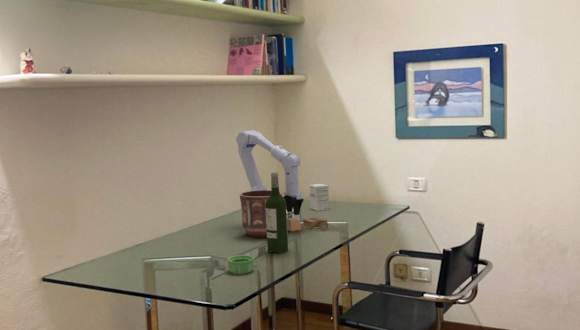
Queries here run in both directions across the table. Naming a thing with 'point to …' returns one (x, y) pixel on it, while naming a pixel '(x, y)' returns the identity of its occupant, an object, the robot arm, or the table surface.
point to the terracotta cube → (293, 224)
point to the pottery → (254, 212)
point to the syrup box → (291, 215)
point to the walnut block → (315, 222)
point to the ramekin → (240, 264)
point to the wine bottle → (276, 219)
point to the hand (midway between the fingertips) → (293, 213)
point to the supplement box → (319, 197)
